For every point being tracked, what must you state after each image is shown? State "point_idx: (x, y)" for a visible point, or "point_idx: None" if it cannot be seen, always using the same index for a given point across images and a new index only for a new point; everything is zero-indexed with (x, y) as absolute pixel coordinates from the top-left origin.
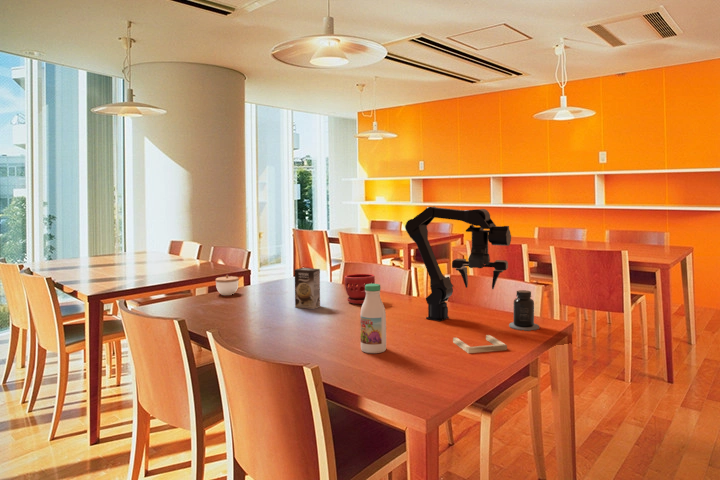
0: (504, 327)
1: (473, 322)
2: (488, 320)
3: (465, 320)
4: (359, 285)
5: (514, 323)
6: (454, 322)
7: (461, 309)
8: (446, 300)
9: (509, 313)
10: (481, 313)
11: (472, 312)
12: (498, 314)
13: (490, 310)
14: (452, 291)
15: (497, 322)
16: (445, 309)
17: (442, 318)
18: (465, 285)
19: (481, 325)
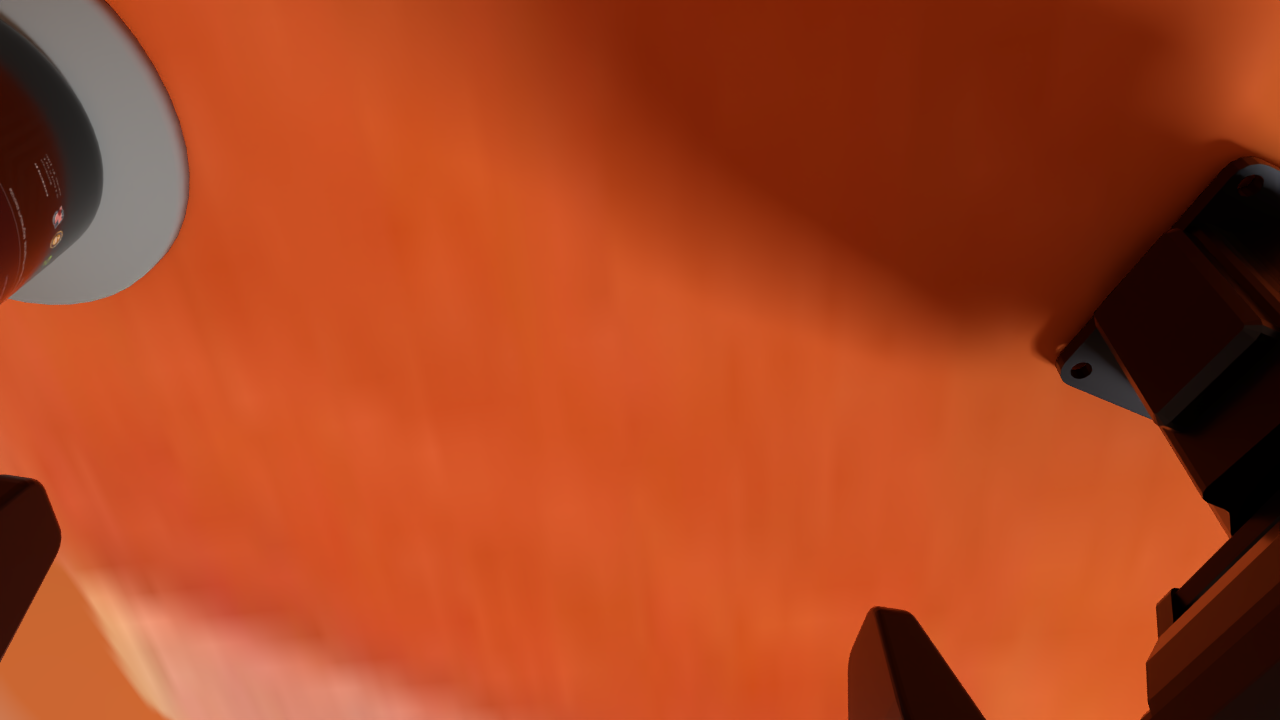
0: (215, 25)
1: (697, 214)
2: (506, 348)
3: (815, 297)
4: None
5: (46, 75)
6: (995, 156)
7: None
8: (1190, 586)
9: (342, 628)
10: (625, 601)
11: (727, 624)
12: (441, 587)
13: (545, 697)
14: (1160, 715)
15: (376, 276)
16: (1209, 336)
17: (1203, 231)
18: (938, 664)
19: (565, 66)
